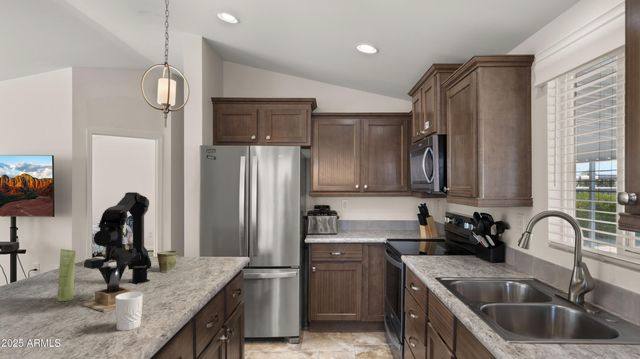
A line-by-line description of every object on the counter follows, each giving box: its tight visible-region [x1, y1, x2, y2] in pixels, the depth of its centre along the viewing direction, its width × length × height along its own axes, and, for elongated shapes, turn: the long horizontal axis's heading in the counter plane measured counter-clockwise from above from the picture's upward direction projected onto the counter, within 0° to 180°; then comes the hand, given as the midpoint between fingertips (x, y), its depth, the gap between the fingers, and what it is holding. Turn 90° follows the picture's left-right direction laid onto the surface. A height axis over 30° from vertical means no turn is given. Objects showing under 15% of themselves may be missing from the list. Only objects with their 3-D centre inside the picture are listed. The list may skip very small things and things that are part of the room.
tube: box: [57, 248, 76, 302], centre depth 134 cm, size 6×5×20 cm
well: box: [82, 285, 131, 313], centre depth 131 cm, size 14×14×5 cm
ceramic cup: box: [156, 249, 179, 274], centre depth 181 cm, size 13×10×10 cm
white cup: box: [115, 291, 144, 332], centre depth 110 cm, size 8×8×10 cm
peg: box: [106, 267, 120, 293], centre depth 131 cm, size 4×4×9 cm
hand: (113, 282), depth 131 cm, fingers closed on peg, 4 cm apart
